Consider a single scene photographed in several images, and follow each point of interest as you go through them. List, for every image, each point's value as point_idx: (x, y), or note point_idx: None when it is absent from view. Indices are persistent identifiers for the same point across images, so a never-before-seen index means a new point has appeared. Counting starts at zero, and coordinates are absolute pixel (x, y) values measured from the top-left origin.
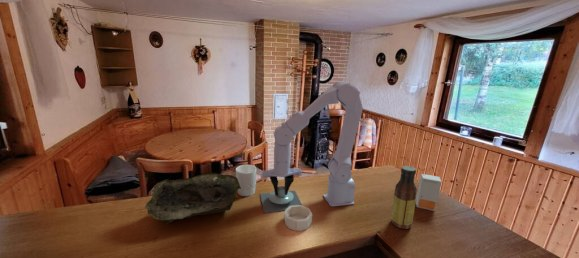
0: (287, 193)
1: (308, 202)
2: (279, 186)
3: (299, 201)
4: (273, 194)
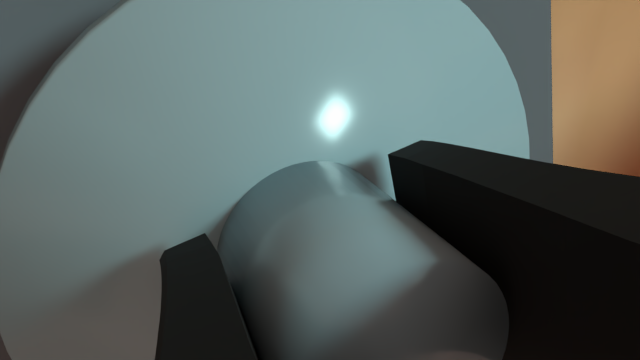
0: (433, 115)
1: (631, 105)
2: (358, 313)
3: (540, 139)
4: (116, 232)
